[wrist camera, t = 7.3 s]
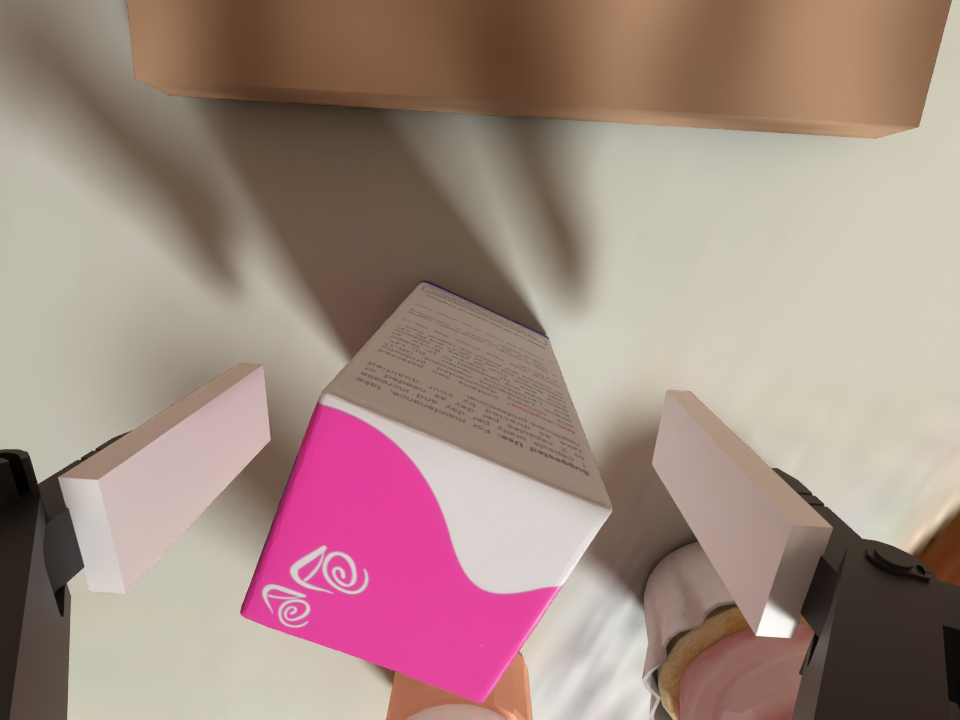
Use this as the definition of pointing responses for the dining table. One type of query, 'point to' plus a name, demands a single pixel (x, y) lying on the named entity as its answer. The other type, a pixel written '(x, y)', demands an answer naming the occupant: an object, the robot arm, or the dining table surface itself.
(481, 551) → the supplement box
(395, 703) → the peach and white cylinder
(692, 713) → the cupcake
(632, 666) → the dining table surface
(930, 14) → the board
